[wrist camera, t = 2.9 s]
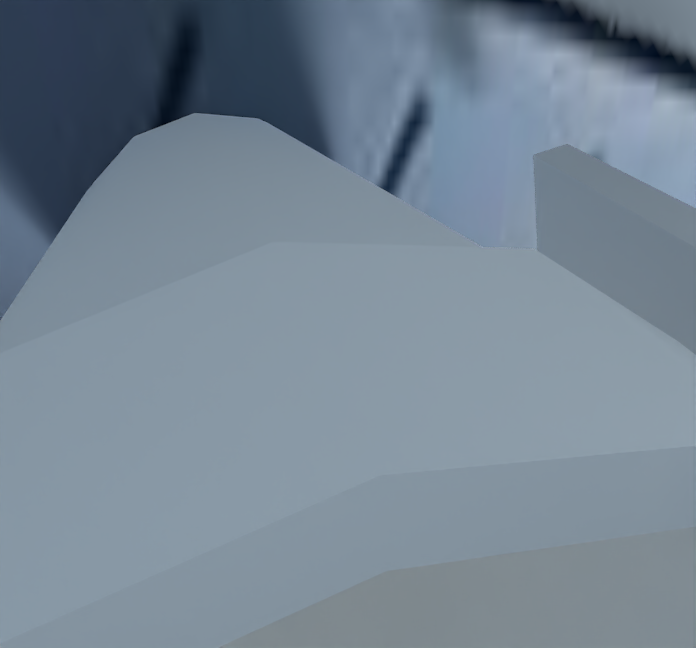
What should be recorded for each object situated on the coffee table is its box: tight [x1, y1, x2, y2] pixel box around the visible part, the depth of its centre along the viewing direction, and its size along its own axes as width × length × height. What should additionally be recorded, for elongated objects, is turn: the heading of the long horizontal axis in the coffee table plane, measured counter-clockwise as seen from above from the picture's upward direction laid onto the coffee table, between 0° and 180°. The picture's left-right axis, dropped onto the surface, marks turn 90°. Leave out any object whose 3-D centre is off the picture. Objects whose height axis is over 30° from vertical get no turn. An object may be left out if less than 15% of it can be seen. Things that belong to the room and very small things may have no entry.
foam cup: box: [0, 113, 696, 648], centre depth 10 cm, size 10×9×13 cm
